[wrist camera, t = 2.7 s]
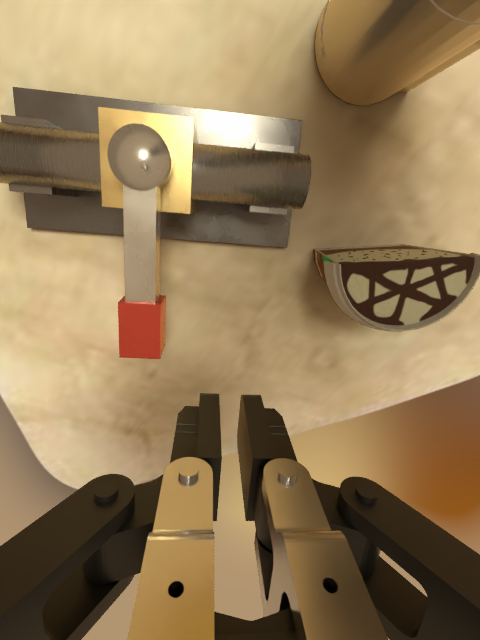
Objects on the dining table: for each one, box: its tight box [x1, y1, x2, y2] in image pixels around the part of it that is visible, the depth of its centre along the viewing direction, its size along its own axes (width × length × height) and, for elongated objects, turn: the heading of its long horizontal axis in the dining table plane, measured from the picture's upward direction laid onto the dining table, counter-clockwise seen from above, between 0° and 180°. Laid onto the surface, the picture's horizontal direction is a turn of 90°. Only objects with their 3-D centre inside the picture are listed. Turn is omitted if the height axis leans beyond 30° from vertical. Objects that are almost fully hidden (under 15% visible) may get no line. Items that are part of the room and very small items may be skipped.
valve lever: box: [107, 123, 174, 359], centre depth 23 cm, size 15×4×3 cm, turn 175°
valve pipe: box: [0, 87, 311, 248], centre depth 27 cm, size 24×11×9 cm, turn 85°
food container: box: [314, 244, 480, 331], centre depth 31 cm, size 12×6×10 cm, turn 92°
